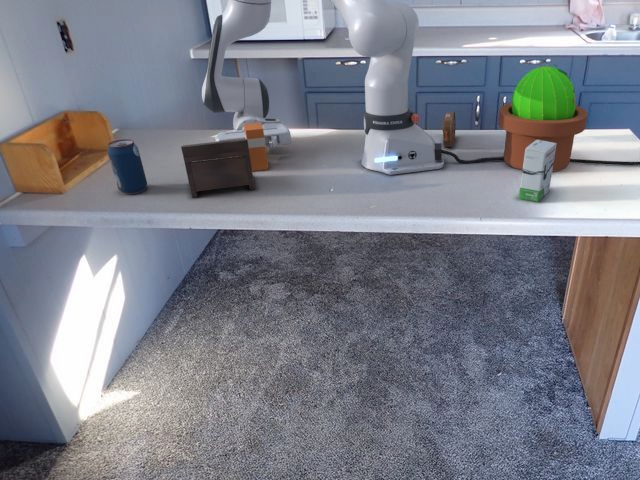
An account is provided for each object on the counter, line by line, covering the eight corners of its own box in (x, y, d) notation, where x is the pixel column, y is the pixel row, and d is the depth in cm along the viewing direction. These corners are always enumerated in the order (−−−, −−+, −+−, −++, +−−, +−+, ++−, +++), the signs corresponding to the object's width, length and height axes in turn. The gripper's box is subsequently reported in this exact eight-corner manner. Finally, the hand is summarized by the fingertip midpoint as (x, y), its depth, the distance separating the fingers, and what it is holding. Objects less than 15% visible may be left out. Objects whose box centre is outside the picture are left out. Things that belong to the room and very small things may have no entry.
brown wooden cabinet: (250, 176, 143) (243, 128, 136) (255, 189, 135) (247, 139, 128) (191, 183, 139) (181, 135, 133) (192, 198, 131) (181, 147, 125)
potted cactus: (490, 172, 142) (499, 70, 129) (499, 146, 160) (508, 54, 146) (578, 179, 136) (598, 74, 123) (578, 151, 154) (594, 57, 141)
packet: (265, 162, 152) (260, 122, 146) (268, 169, 147) (263, 128, 141) (249, 164, 151) (243, 124, 145) (251, 171, 146) (245, 130, 140)
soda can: (153, 185, 139) (142, 139, 132) (138, 196, 133) (125, 147, 127) (129, 184, 140) (116, 137, 134) (113, 194, 134) (98, 146, 128)
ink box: (538, 203, 124) (545, 152, 118) (517, 198, 127) (523, 148, 120) (550, 190, 131) (557, 141, 124) (530, 186, 133) (536, 138, 127)
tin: (451, 151, 157) (452, 121, 152) (440, 150, 158) (441, 121, 153) (455, 135, 169) (457, 108, 165) (445, 135, 170) (446, 107, 166)
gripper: (212, 125, 152) (214, 139, 141) (284, 118, 157) (292, 131, 146) (216, 147, 156) (218, 163, 145) (287, 139, 161) (295, 154, 149)
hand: (256, 147), depth 145 cm, fingers open, 7 cm apart
